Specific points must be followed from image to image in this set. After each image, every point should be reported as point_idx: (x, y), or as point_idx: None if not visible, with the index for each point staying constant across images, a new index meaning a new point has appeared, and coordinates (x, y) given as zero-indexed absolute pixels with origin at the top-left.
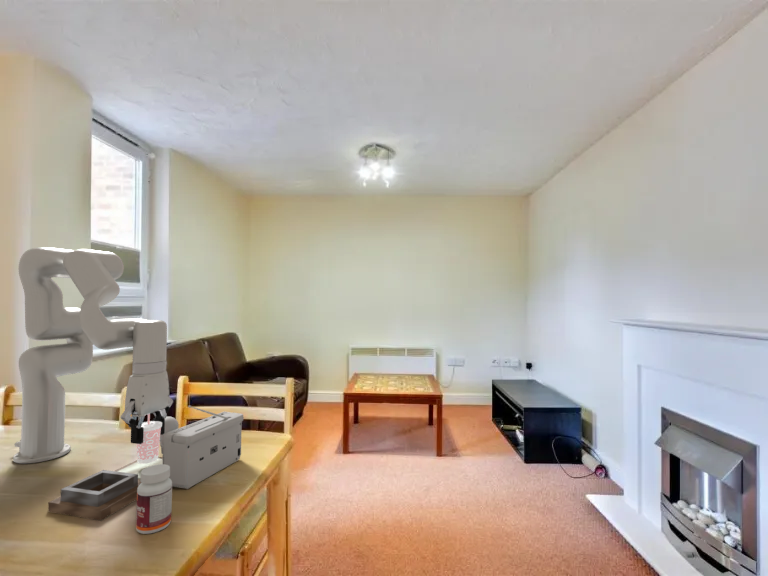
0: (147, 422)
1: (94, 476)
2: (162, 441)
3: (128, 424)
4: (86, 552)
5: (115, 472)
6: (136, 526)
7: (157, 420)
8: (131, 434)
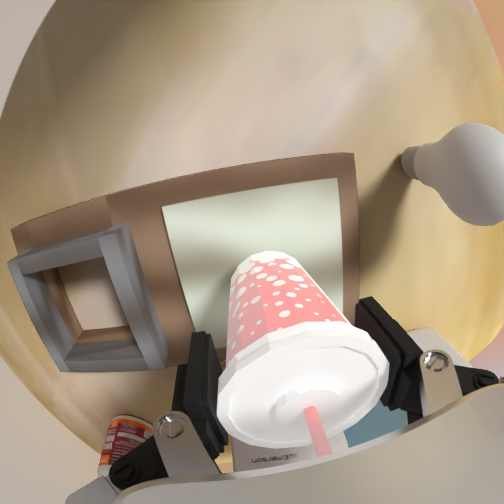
0: (358, 350)
1: (76, 262)
2: (426, 170)
3: (136, 454)
4: (54, 397)
5: (129, 297)
6: (109, 425)
7: (390, 381)
8: (176, 387)
